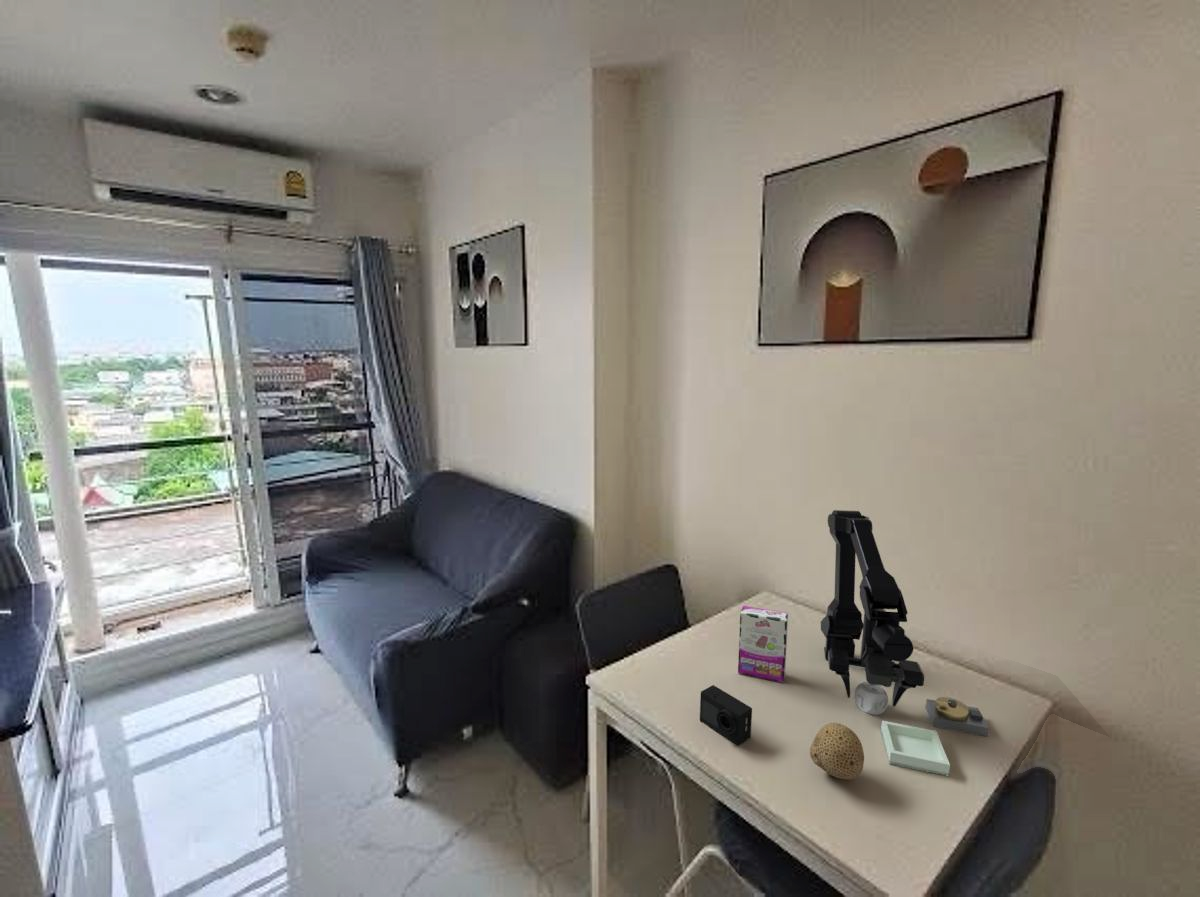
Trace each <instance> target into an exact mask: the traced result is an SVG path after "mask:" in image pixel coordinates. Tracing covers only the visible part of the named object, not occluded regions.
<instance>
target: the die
mask: <svg viewBox="0 0 1200 897" xmlns="http://www.w3.org/2000/svg"><path fill="white" fill-rule="evenodd" d="M854 700H855V703H856V705H857V707H858V708H859V709H860V710H861V711H863V712H865V713H866V714H869V715H873V716H877V715H881V714H882V713H884V712H885V711H886V710H887V708H888V705H889V697H888V694H887V692H886V690H885V689H884V688H883V686H882V685H876V684H875V685H872V684H869V683H868V682H867V681H863V682H861V683H859V684H858V685H857V686H856V688H855V690H854Z"/></svg>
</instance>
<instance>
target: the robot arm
mask: <svg viewBox="0 0 1200 897" xmlns="http://www.w3.org/2000/svg"><path fill="white" fill-rule="evenodd" d="M827 526H828V528H829V534H830V536H831V537H832V539H833V541H834V542H835V564H834V565H835V568H834V570H835V571H834V575H835V576H834V597H833V599H832V601H831V602H830V604H829V605H827V609H826V610H827V611H826V615H825V616H824V617H823V618H822V620H821V621H820V631H821V632H822V634H823V635H824V637H825V645H824V647H823V650H824V657H825V658H824V659H825V660H826V661H828V668H829V670H830V671H831V672H834V673H835V675H838V676H840V677H841V679H842V681H843V685H844V688H845V691H846V695H847V698H848V699H850V698H851V681H850V680H851V678H850V677H851V676H850V675H851V674H850V667H852V668H858V669H864V670H865V679H866V682H868V683H869V684H872V685H875V684H876V685H880V686H881V687H885V688H890V687H891V686H892V685H893V684H892V683H894V685H893V690H892V695H891V696H892V697H891V703H892V707H896V706H897V704H898V703H899V701H900V699H901V698H902V696H903V694H904V693H905V692H906V691H907V690H908V689H912V688H913V689H916V688H917V687H923V686H925V674H924V671H923V669H922V667H921V664H919V663H918V661H913V660H908V659H909V658H910V657H911V656H912V654H913V653H914V645H913V642H912V641H911V639H910V638H909V637H908V636H907V635H906V634H905V632H906V631H905V629H904V628H903V626H901V625H900V622H901V623H908V617H907V615H908V609H907V606H906V602H905V598H904V595H903V594H902V591H901V589H900V587H899V586H898V583H897V582H896V579H895V577H894V576H892V575H891V573H889V571H887V570H886V569H885V565H884V562H883V560H882V557H881V554H880V550H879V548H878V545H877V542H876V538H875V536H874V534H873V523H872V521H871V519H870V517H869V516H866V515H864V514H862V512H861V511H859V510H841V509H840V510H837V509H834V510H832V512H831V513H830V514H828V516H827ZM856 558H857V562H858V565H859V569H860V573H861V575H862V576H861V577H862V579H861V581H860V584H859V598H860V599H859V600H860V601H861V605H862V608H863V611H864V613H863V614H864V615H863V614H862V611H861V610H860V609H859V608H858V606H857V604H856V603H855V590H856V587H855V584H856ZM886 610H894V611H886ZM895 610H896V611H895ZM862 617H863V619H862ZM861 637H862V638H861ZM860 639H861V647H860V649H861V650H860V656H859V657H860V658H857V657H855V651H856V650H855V649H856V643H855V640H857V641H859V640H860ZM896 662H898V663H896Z"/></svg>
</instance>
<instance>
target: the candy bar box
mask: <svg viewBox="0 0 1200 897" xmlns="http://www.w3.org/2000/svg"><path fill="white" fill-rule="evenodd" d="M788 619H789V613H788V612H786V611H778V610H773V609H767V608H761V607H754V606H748V605H742V608H741V611H740V614H739V639H738V640H739V641H738V659H737V660H738V662H737V663H738V664H737V673H738V674H739V675H743V676H746V677H747V676H748V677H751V678H752V677H753V678H756V679H758V678H759V679H762V680H767V681H773V682H778V683H783V684H784V682H785V676H786V660H787V645H788V644H787V642H788V623H789V622H788V621H789V620H788Z"/></svg>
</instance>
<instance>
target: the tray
mask: <svg viewBox="0 0 1200 897" xmlns="http://www.w3.org/2000/svg"><path fill="white" fill-rule="evenodd" d="M880 733H881V736H882V740H883V745H884V748H885V752H886V756H887V759H888V764H890V765H893V766H898V767H902V768H907V769H911V768H912V769H911V770H915V771H920V770H921V771H920V772H924V771H928V772H927V773H929V772H933V773H932V774H934V773H938V774H942V775H941V776H943V775H948V776H949V775H950V768H951V765H950V761H949V759H948V755H947V754H946V751H945V749H944V747H943V744H942V742H941V740H940V737H939V734H938V732H937V730H933V729H928V728H922V727H917V726H913V725H907V724H903V723H902V724H901V723H897V722H891V721H886V720H882V721H881V727H880ZM938 774H937V775H938Z"/></svg>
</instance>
